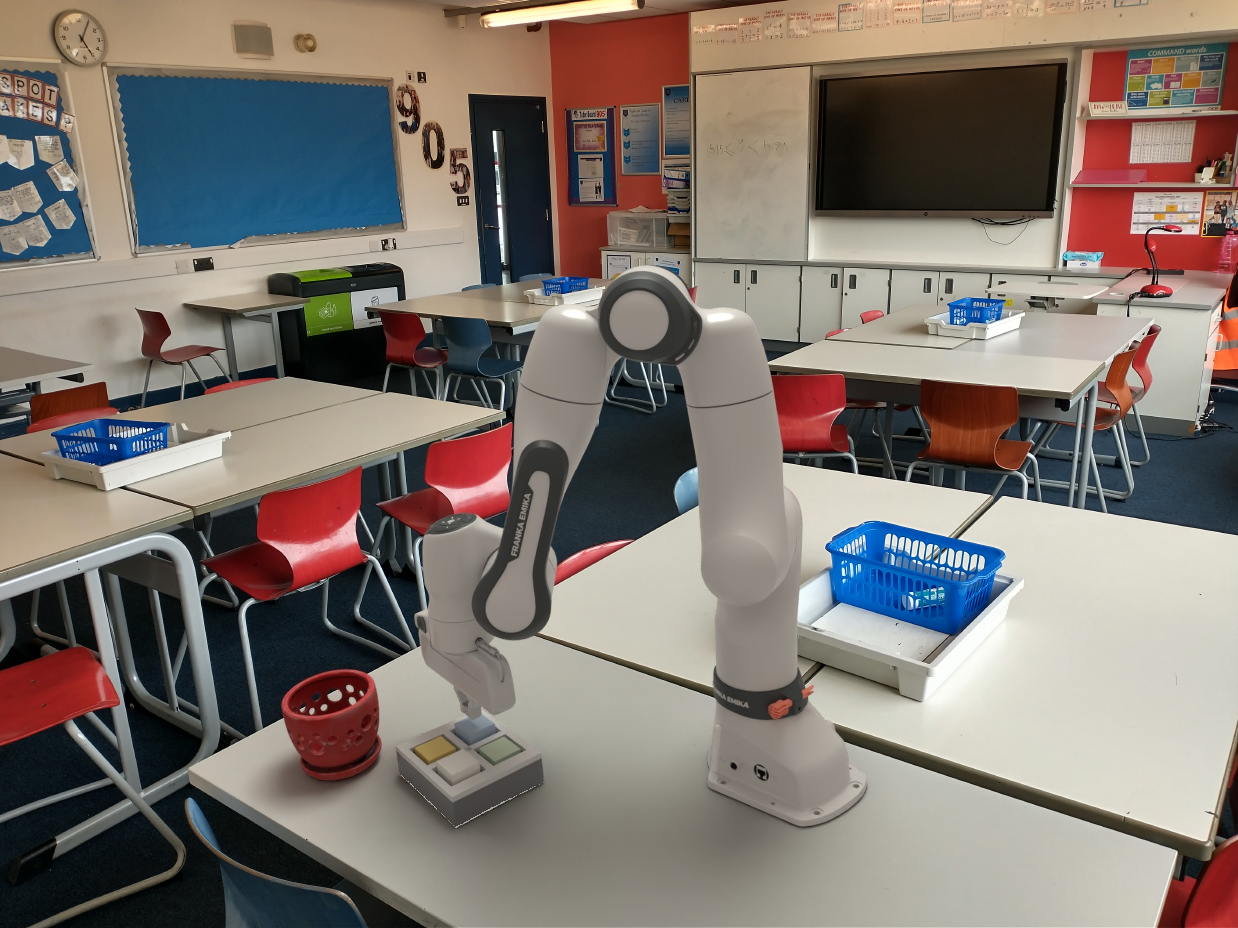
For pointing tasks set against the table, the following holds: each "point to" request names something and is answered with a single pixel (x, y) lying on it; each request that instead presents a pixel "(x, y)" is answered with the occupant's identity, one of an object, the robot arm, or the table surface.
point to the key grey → (457, 767)
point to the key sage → (499, 751)
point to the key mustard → (434, 750)
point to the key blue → (474, 729)
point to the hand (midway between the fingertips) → (471, 714)
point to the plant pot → (334, 724)
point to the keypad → (479, 788)
